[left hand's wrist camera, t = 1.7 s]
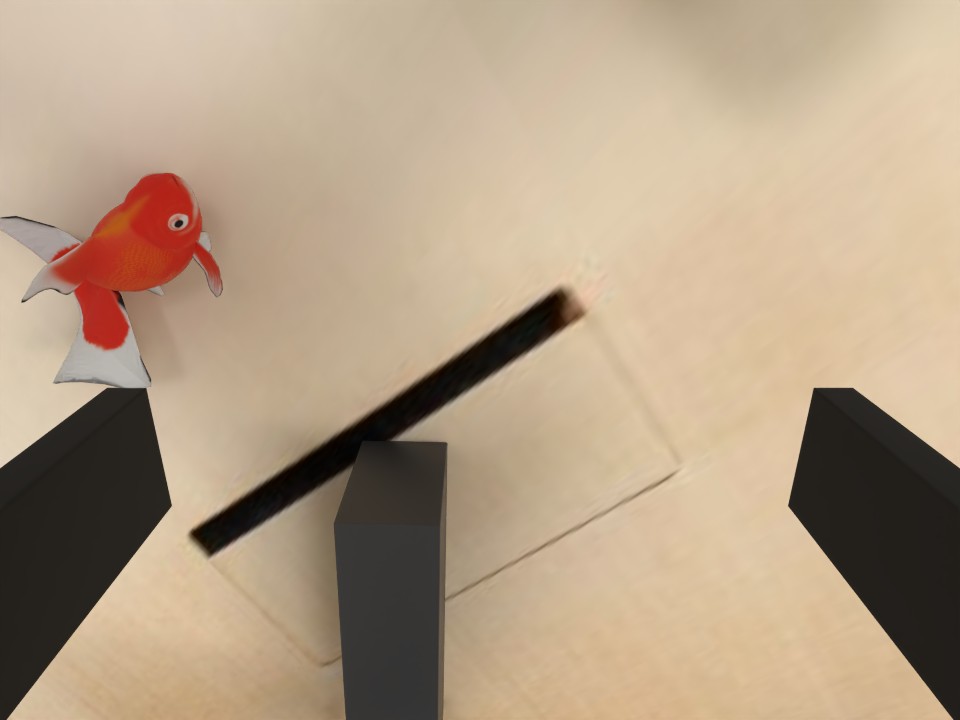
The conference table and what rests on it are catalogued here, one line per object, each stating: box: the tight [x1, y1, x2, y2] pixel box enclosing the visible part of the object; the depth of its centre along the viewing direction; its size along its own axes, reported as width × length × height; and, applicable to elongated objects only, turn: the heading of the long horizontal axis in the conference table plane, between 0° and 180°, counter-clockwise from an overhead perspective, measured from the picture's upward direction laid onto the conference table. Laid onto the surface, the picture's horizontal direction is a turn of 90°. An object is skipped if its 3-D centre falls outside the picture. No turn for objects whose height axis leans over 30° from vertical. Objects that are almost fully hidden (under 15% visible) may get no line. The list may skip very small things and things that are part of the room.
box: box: [334, 441, 447, 720], centre depth 43 cm, size 25×6×9 cm, turn 178°
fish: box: [0, 173, 223, 388], centre depth 34 cm, size 11×16×10 cm
